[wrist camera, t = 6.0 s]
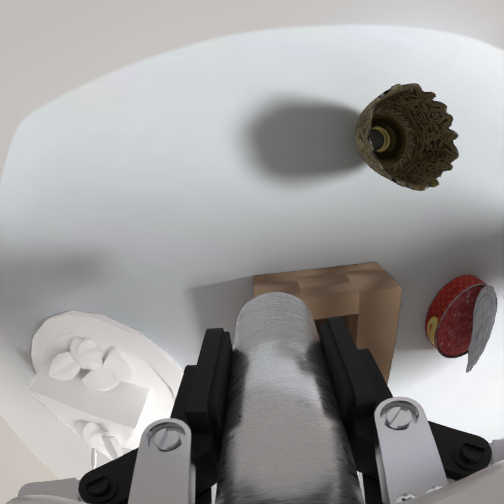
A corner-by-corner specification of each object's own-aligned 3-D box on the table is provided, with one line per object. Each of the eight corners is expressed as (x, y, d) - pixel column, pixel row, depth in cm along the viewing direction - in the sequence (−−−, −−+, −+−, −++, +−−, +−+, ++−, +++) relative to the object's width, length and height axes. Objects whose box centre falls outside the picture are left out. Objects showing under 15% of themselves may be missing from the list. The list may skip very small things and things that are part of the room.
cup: (369, 195, 26) (410, 212, 18) (320, 130, 24) (347, 121, 17) (422, 149, 24) (473, 152, 17) (378, 86, 23) (420, 65, 15)
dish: (234, 378, 33) (228, 457, 22) (160, 461, 39) (147, 514, 28) (50, 270, 29) (-12, 316, 18) (31, 388, 35) (-1, 432, 25)
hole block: (376, 261, 28) (402, 286, 22) (365, 383, 33) (379, 417, 27) (253, 275, 28) (253, 306, 23) (267, 397, 33) (269, 435, 27)
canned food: (425, 268, 33) (477, 254, 23) (475, 290, 33) (526, 282, 23) (402, 358, 31) (454, 370, 21) (457, 370, 31) (507, 380, 21)
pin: (312, 287, 12) (386, 509, 3) (313, 352, 13) (356, 548, 4) (230, 296, 12) (191, 526, 3) (241, 359, 13) (226, 559, 4)
